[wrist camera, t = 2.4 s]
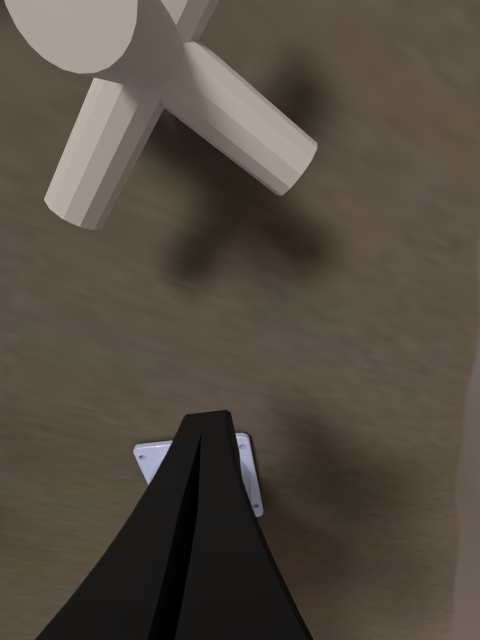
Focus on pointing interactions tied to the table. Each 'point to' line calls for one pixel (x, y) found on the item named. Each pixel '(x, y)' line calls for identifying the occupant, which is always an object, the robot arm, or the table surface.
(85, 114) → the pipe connector
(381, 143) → the table surface
